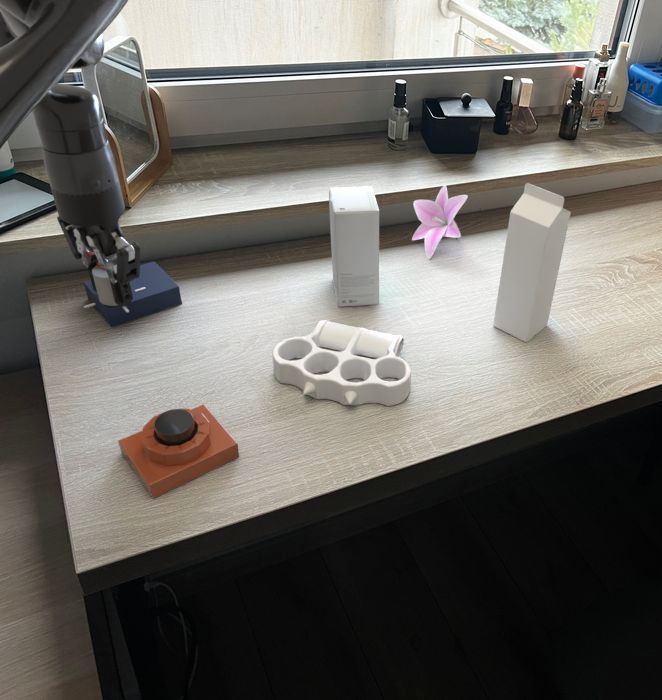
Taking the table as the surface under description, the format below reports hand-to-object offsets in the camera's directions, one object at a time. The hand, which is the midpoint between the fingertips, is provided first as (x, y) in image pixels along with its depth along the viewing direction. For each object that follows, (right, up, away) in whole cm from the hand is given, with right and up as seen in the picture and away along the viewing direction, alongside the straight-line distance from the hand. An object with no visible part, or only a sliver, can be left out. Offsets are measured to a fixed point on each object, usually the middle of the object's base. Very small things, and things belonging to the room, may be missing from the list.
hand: (113, 295), depth 97 cm
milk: (+56, -4, +10) cm, 57 cm away
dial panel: (+1, -1, +4) cm, 4 cm away
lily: (+43, +11, +26) cm, 51 cm away
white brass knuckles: (+32, -11, -2) cm, 34 cm away
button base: (+16, -19, -16) cm, 30 cm away
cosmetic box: (+31, +1, +13) cm, 33 cm away
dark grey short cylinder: (+16, -17, -18) cm, 29 cm away
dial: (0, 0, 0) cm, 0 cm away
